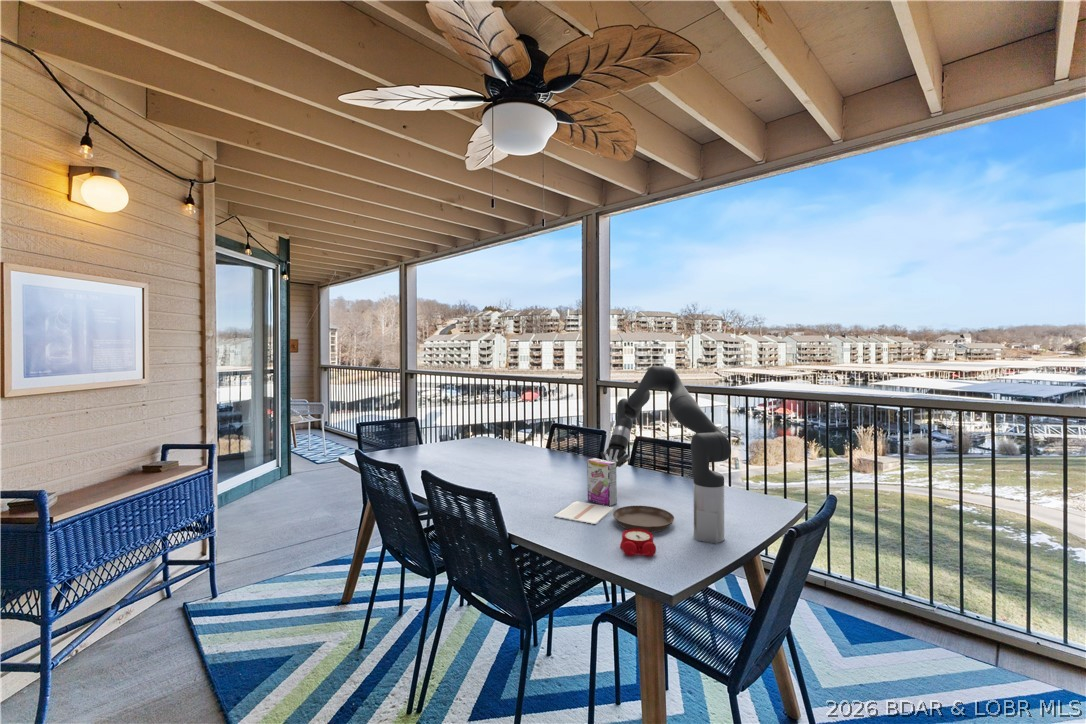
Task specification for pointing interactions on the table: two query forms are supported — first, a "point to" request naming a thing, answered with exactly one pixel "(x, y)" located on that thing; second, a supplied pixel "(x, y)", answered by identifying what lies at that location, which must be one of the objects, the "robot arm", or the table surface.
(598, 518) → the card
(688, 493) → the table surface
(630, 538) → the alarm clock
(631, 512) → the plant saucer
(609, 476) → the candy bar box
